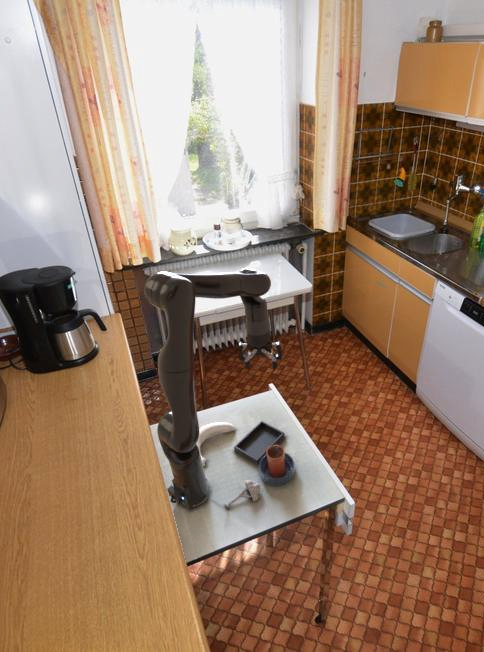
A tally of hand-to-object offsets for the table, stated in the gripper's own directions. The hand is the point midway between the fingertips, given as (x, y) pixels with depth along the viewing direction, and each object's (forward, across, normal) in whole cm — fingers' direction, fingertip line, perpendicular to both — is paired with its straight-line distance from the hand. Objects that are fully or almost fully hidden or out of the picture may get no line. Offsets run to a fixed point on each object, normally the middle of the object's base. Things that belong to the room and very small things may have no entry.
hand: (261, 368), depth 148 cm
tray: (+27, -2, -9) cm, 29 cm away
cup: (+27, +5, -21) cm, 34 cm away
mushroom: (+28, -5, -31) cm, 42 cm away
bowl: (+27, +5, -21) cm, 35 cm away
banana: (+28, -19, -9) cm, 34 cm away
